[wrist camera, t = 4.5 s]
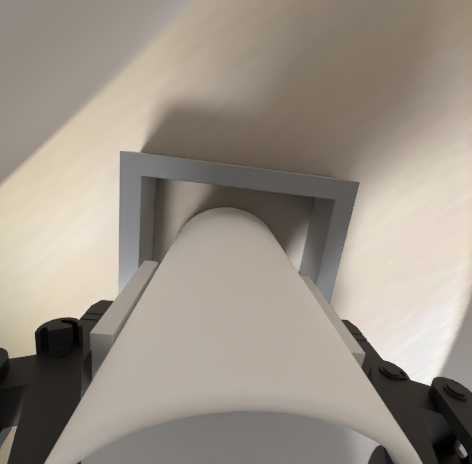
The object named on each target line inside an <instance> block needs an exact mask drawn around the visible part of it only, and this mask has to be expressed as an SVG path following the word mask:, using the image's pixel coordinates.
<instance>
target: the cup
mask: <svg viewBox="0 0 472 464" xmlns="http://www.w3.org/2000/svg"><path fill="white" fill-rule="evenodd" d="M379 445H382V446H383V447H385V448H386V450H387V452H388V454H389V456H390V457H391V459H392V461H393V463H394V464H423V463H422V462H421V460H420V458H419V456H418V454H417V453H416V451H415V450H414V448H413V446H412V445H411V443H410V442H409V440H408V439H407V437H406V436H405V434H404V433H403V431H402V430H401V428H400V427H399V425H398V424H397V422H396V421H395V419H394V418H393V416H392V414H391V413H390V411H389V410H388V408H387V407H386V405H385V404H384V402H383V401H382V399H381V398H380V396H379V395H378V393H377V392H376V390H375V389H374V387H373V385H372V384H371V382H370V381H369V379H368V378H367V376H366V375H365V373H364V372H363V370H362V369H361V367H360V366H359V364H358V363H357V361H356V360H355V358H354V357H353V355H352V353H351V352H350V350H349V349H348V347H347V346H346V344H345V343H344V341H343V340H342V338H341V337H340V335H339V334H338V332H337V331H336V329H335V328H334V326H333V325H332V323H331V322H330V320H329V319H328V317H327V316H326V314H325V313H324V311H323V310H322V308H321V306H320V305H319V303H318V302H317V300H316V299H315V297H314V296H313V294H312V293H311V291H310V290H309V288H308V287H307V285H306V284H305V282H304V281H303V279H302V278H301V276H300V275H299V273H298V272H297V270H296V269H295V267H294V266H293V264H292V263H291V261H290V260H289V258H288V256H287V255H286V253H285V252H284V250H283V249H282V247H281V246H280V244H279V243H278V241H277V240H276V238H275V237H274V235H273V234H272V232H271V231H270V229H269V228H268V227H267V226H266V224H265V223H264V222H263V221H261V220H260V219H259V218H258V217H256V216H255V215H253V214H251V213H249V212H247V211H244V210H241V209H237V208H229V207H221V208H214V209H210V210H207V211H204V212H202V213H200V214H198V215H196V216H194V217H193V218H192V219H190V220H189V221H188V222H187V223H186V224H185V225H184V226H183V227H182V229H181V230H180V231H179V233H178V235H177V236H176V238H175V240H174V241H173V243H172V245H171V247H170V248H169V250H168V252H167V253H166V255H165V257H164V259H163V260H162V262H161V264H160V265H159V267H158V269H157V271H156V272H155V274H154V276H153V277H152V279H151V281H150V283H149V284H148V286H147V288H146V289H145V291H144V293H143V295H142V296H141V298H140V300H139V301H138V303H137V305H136V307H135V308H134V310H133V312H132V313H131V315H130V317H129V319H128V320H127V322H126V324H125V325H124V327H123V329H122V331H121V332H120V334H119V336H118V337H117V339H116V341H115V343H114V344H113V346H112V348H111V349H110V351H109V353H108V355H107V356H106V358H105V360H104V361H103V363H102V365H101V367H100V368H99V370H98V372H97V374H96V375H95V377H94V379H93V380H92V382H91V384H90V386H89V387H88V389H87V391H86V392H85V394H84V396H83V398H82V399H81V401H80V403H79V405H78V406H77V408H76V410H75V411H74V413H73V415H72V417H71V418H70V420H69V422H68V424H67V425H66V427H65V429H64V430H63V432H62V434H61V436H60V437H59V439H58V441H57V443H56V444H55V446H54V448H53V449H52V451H51V453H50V455H49V456H48V458H47V460H46V462H45V463H44V464H77V463H78V462H80V461H81V464H368V461H369V459H370V456H371V454H372V452H373V451H374V449H375V448H376V447H377V446H379Z"/></svg>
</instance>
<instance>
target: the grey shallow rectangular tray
mask: <svg viewBox="0 0 472 464" xmlns="http://www.w3.org/2000/svg"><path fill="white" fill-rule="evenodd" d="M156 177H157V178H165V179H173V180H181V181H189V182H197V183H205V184H213V185H221V186H229V187H237V188H245V189H253V190H261V191H269V192H277V193H285V194H293V195H301V196H310V197H315V199H314V204H313V209H312V214H311V218H310V223H309V228H308V233H307V238H306V242H305V247H304V252H303V257H302V262H301V267H300V271H299V275H300V276H309V277H310V278H311V280H312V281H313V282H314V284H315V285H316V287H317V288H318V289H319V291H320V292H321V293H322V295H323V296H324V298H325V299H326V300H327V302H328V303H330V299H331V295H332V291H333V287H334V283H335V279H336V275H337V271H338V267H339V263H340V259H341V255H342V251H343V247H344V243H345V239H346V235H347V230H348V226H349V222H350V218H351V214H352V210H353V206H354V202H355V198H356V194H357V190H358V186H359V182H355V181H350V180H344V179H339V178H333V177H325V176H318V175H310V174H302V173H295V172H287V171H280V170H272V169H264V168H257V167H249V166H241V165H234V164H226V163H218V162H211V161H203V160H195V159H188V158H180V157H172V156H165V155H157V154H150V153H142V152H127V151H120V208H119V294H120V293H121V291H122V290H123V289H124V287H125V286H126V285H127V283H128V282H129V281H130V279H131V278H132V277H133V275H134V274H135V273H136V271H137V270H138V269H139V267H140V266H141V265H142V263H143V262H144V261H145V260H146V261H153V240H154V218H155V197H156Z"/></svg>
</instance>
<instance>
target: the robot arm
mask: <svg viewBox="0 0 472 464" xmlns="http://www.w3.org/2000/svg"><path fill="white" fill-rule="evenodd" d="M157 269H158V262H156V261H146V260H145V261H144V262H143V263H142V265H141V266H140V267H139V269H138V270H137V271H136V273H135V274H134V275H133V277H132V278H131V279H130V281H129V282H128V283H127V285H126V286H125V287H124V289H123V290H122V291H121V293H120V294H119V295H118V297H117V298H116V299H115V301H107V300H101V301H99V302H97V303H95V304H94V305H92V306H91V307H90V308H89V309H88V310H87V311H86V313H85V314H84V315H83V316H82V317H81V318H80V320H78V319H76V318H70V317H68V318H58V319H54V320H51V321H49V322H46V323H44V324H43V325H41V326H40V327H39V328H38V329H37V330H36V332H35V341H36V353H37V354H36V355H31V356H25V357H18V358H12V359H9V357H8V353H7V350H5V349H3V348H0V448H1V446H2V444H3V442H4V441H5V439H6V437H7V435H8V434H9V432H10V430H11V429H12V427H13V426H17V425H18V426H17V430H16V433H15V437H14V441H13V444H12V448H11V452H10V456H9V459H8V463H7V464H44V463H45V462H46V460H47V458H48V456H49V455H50V453H51V451H52V449H53V448H54V446H55V444H56V443H57V441H58V439H59V437H60V436H61V434H62V432H63V430H64V429H65V427H66V425H67V424H68V422H69V420H70V418H71V417H72V415H73V413H74V411H75V410H76V408H77V406H78V405H79V403H80V401H81V399H82V398H83V396H84V394H85V392H86V391H87V389H88V387H89V386H90V384H91V382H92V380H93V379H94V377H95V375H96V374H97V372H98V370H99V368H100V367H101V365H102V363H103V361H104V360H105V358H106V356H107V355H108V353H109V351H110V349H111V348H112V346H113V344H114V343H115V341H116V339H117V337H118V336H119V334H120V332H121V331H122V329H123V327H124V325H125V324H126V322H127V320H128V319H129V317H130V315H131V313H132V312H133V310H134V308H135V307H136V305H137V303H138V301H139V300H140V298H141V296H142V295H143V293H144V291H145V289H146V288H147V286H148V284H149V283H150V281H151V279H152V277H153V276H154V274H155V272H156V271H157ZM301 278H302V279H303V281H304V282H305V284H306V285H307V287H308V288H309V290H310V291H311V293H312V294H313V296H314V297H315V299H316V300H317V302H318V303H319V305H320V306H321V308H322V310H323V311H324V313H325V314H326V316H327V317H328V319H329V320H330V322H331V323H332V325H333V326H334V328H335V329H336V331H337V332H338V334H339V335H340V337H341V338H342V340H343V341H344V343H345V344H346V346H347V347H348V349H349V350H350V352H351V353H352V355H353V357H354V358H355V360H356V361H357V363H358V364H359V366H360V367H361V369H362V370H363V372H364V373H365V375H366V376H367V378H368V379H369V381H370V382H371V384H372V385H373V387H374V389H375V390H376V392H377V393H378V395H379V396H380V398H381V399H382V401H383V402H384V404H385V405H386V407H387V408H388V410H389V411H390V413H391V414H392V416H393V418H394V419H395V421H396V422H397V424H398V425H399V427H400V428H401V430H402V431H403V433H404V434H405V436H406V437H407V439H408V440H409V442H410V443H411V445H412V446H413V448H414V450H415V451H416V453H417V454H418V456H419V458H420V460H421V462H422V463H423V464H472V392H471V391H469V390H468V389H467V388H465V387H464V386H463V385H461V384H460V383H458V382H455V381H454V380H451V379H448V378H444V377H436V378H434V379H433V381H432V384H431V386H428V385H425V384H422V383H418V382H415V381H412V380H410V378H409V377H408V375H407V374H406V373H405V372H404V371H403V370H402V369H401V368H400V367H398V366H396V365H395V364H393V363H390V362H388V361H384V360H382V358H381V357H380V356H379V355H378V353H377V352H376V351H375V350H374V348H373V347H372V346H371V345H370V343H369V342H367V339H366V338H365V337H364V336H362V333H361V332H360V331H359V329H358V328H357V327H356V326H355V325H353V324H352V323H351V322H349V321H348V320H341V319H340V318H339V317H338V315H337V314H336V313H335V311H334V310H333V308H332V307H331V306H330V304H329V303H328V302H327V300H326V299H325V298H324V296H323V295H322V293H321V292H320V291H319V289H318V288H317V287H316V285H315V284H314V282H313V281H312V280H311V278H310V277H309V276H301ZM461 444H462V445H463V447H464V448H465V450H466V452H467V454H468V455H467V456H466V457H465V456H464V455H463V454H462V452H461V451H460V450H459V447H460V445H461ZM77 464H81V461H80V462H78V463H77ZM368 464H394V463H393V461H392V459H391V457H390V456H389V454H388V452H387V450H386V448H385V447H383V446H382V445H379V446H377V447H376V448H375V449H374V451H373V452H372V454H371V456H370V459H369V461H368Z"/></svg>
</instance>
